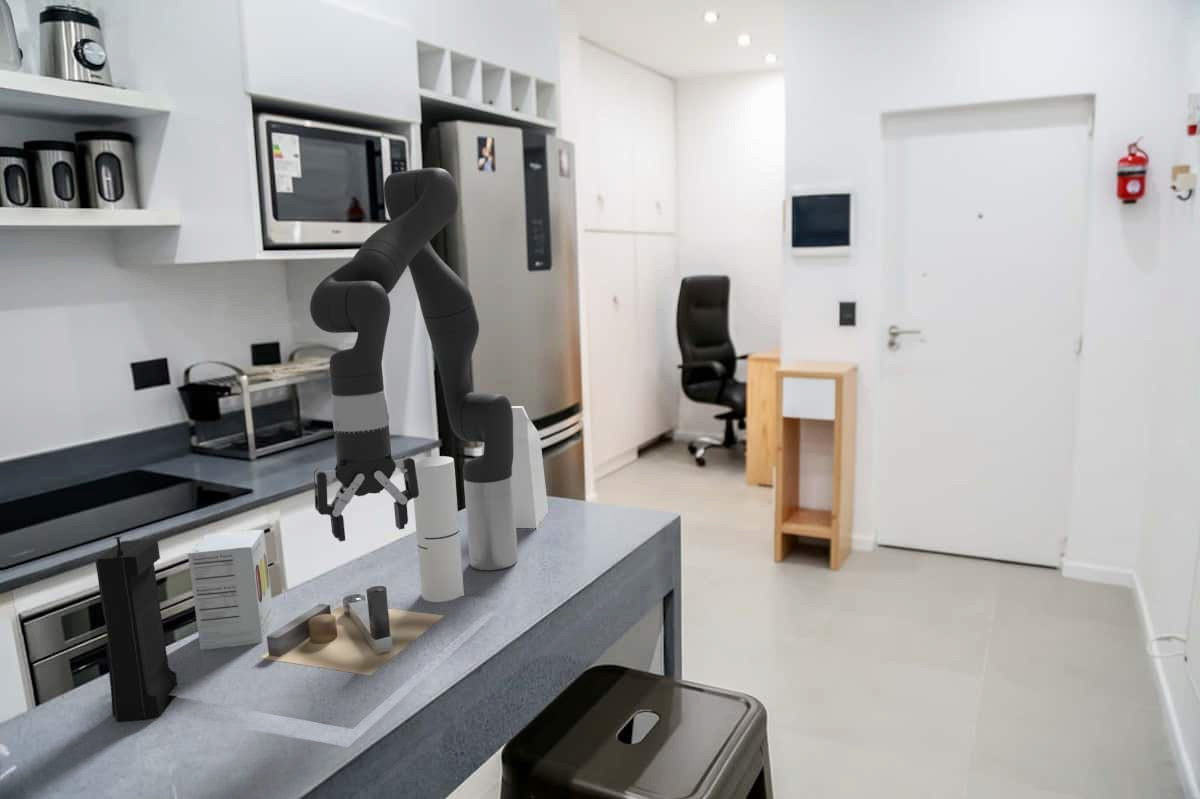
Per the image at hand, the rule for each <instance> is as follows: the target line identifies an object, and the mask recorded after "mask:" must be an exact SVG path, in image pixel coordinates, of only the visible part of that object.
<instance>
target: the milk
mask: <svg viewBox="0 0 1200 799" xmlns="http://www.w3.org/2000/svg"><path fill="white" fill-rule="evenodd" d="M511 407H512V412H513V450H514V455H513V463H512V482H513V497H514V510H515V518H516V528H537V527H538V528H539V526H540V525H541V524H540V522H541V521H542V520H543V519H545V518H546V517H547V516H546V514H547V513H548V514H549V506H548V497H547V496H548V495H547V487H546V477H545V468H544V461H543V452H542V442H541V437H540V433H539V431H538V429H537V427H536V426H535V425H534V423H533V422H532V420H531V419H530V417H529V416H528V413H527V412H526V409H525V408H524V405H523V406H522V405H521V406H519V405H518V406H517V405H516V406H512V405H511ZM483 453H484V442H482V446H481V456H482V455H483ZM548 514H547V515H548ZM545 516H546V517H545ZM544 517H545V518H544ZM543 521H544V520H543ZM543 521H542V522H543ZM542 522H541V523H542ZM539 524H540V525H539ZM538 525H539V526H538ZM538 528H537V529H538Z"/></svg>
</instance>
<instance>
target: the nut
mask: <svg viewBox="0 0 1200 799" xmlns="http://www.w3.org/2000/svg"><path fill="white" fill-rule="evenodd" d="M308 624H309V633H310V641H311V642H312V643H314V644H324V643H328V642H331V641H333V640H335V639H336V638H337V626H336V617H335V616H334V615H331V614H323V615H318V616H315V617H313V618H311V619H310V620H309V621H308Z"/></svg>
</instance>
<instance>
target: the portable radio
mask: <svg viewBox="0 0 1200 799" xmlns="http://www.w3.org/2000/svg"><path fill="white" fill-rule="evenodd" d="M121 538H122V536H116V537H114V539H115V540H116V543H117V545H115V546H113V547H112V548H110V549H109V550H108V551H106V552H105V553H103V554H102V555H100V556H98V558H97V559H96V561H95V568H96V573H97V574H96V575H97V581H98V587H99V594H100V595H99V596H100V601H101V602H100V603H101V609H102V615H103V618H104V621H105V630H106V631H105V632H106V637H107V644H106V645H105V647H106V648H105V649H106V657H107V666H108V674H109V675H108V676H109V684H110V694H111V695H110V696H111V697H110V698H111V710H112V712H111V714H112V715H111V716H112V717H113V718H115V721H116V722H127V721H139V720H146V719H151V718H155V717H159V716H161V715H162V714H163V713H164V712H165V711H166V709H167V708H168V707H169V706H170V704H171V703H172V702H173V701H174V699H175V698H176V697H177V695H172V694H171V692H172V691H173V690H174V689H175V688H176V687H177V685H178V680H177V673H176V672H175V671H173V670H171V668H170V667H169V660H168V654H167V648H166V647H167V646H166V641H165V640H166V639H165V634H164V627H163V626H164V625H163V618H162V612H161V611H162V610H161V604H160V597H159V592H158V582H157V577H156V570H155V569H156V568H155V563H156V562H158V561H159V560H161V557H160V556H161V554H160V548H159V541H158V540H154V539H139V540H122V541H121Z"/></svg>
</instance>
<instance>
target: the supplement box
mask: <svg viewBox="0 0 1200 799" xmlns="http://www.w3.org/2000/svg"><path fill="white" fill-rule="evenodd" d="M265 535H266V534H265V530H264V529H254V530H253V529H252V530H243V531H234V532H223V533H222V532H221V533H214V534H206V535H203V537H202V538H201V540H200V541H199V542H198V543H197V544H196V545H195V547H194V548H192V549H191V551H189V552H188V554H187V557H188V566H189V573H190V574H189V575H190V580H191V581H190V582H191V587H192V595H193V603H194V609H195V618H196V625H197V633H198V640H199V642H198V643H199V649H200V650H212V649H221V648H230V647H238V646H239V647H240V646H246V645H253V644H261V643H263V642H264V640H265V638H266V637H267V634H268V632H269V630H270V628H271V626H272V624H273V621H274V618H275V617H274V608H273V599H272V598H273V597H272V591H271V581H270V571H269V563H268V556H267V548H266V539H265V538H266V537H265Z"/></svg>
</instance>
